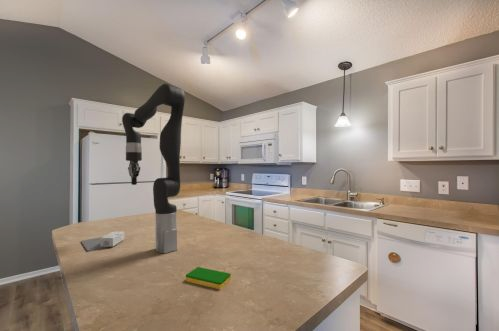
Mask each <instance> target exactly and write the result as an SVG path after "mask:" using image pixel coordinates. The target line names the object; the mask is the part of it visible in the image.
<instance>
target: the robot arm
mask: <svg viewBox="0 0 499 331" xmlns="http://www.w3.org/2000/svg"><path fill="white" fill-rule="evenodd" d="M185 100H186V94H185V91H184V90H183V89H182V88H180V87H178V86H175V85H172V84H169V83H162V84H161V85H160V86H159V87H158V88H157V89H156V90H155V91H154V92H153V93H152V95H151V96H150V97H149V98H148V100H146V102H145V103H143V104H142V105H141V106H139V107H138V108H137V109H135V111H134V113H131V112H125V113H124V114H123V115H122V117H121V121H122V122H121V123H122V126H123V129H124V131H125V132H124V133H125V139H126V140H125V161H127V162H129V164H128V167H127V170H128V174H129V176H130V178H131V179H130V182H131V183H130V184H131V185H133V186H135V185H137V184H138V179H137V178H138V177H139V176H140V172H141V166H140V163H139V162H140V161H142V158H143V157H142V154H143V151H142V149H143V148H142V136H141V133H140V132H139V131H136V130H135V129H134V128H136V129H140V128H143V127H144V126H145V124H146V123H147V121H148V120H150V119H152V118H153V117H154V116H155V115H156V113H157V110H158V107H159V106H161V105H162V106H163V105H165V106H168V107H171V108H170V110H171V111H170V116H169V119H168V121H167V122H166V124H165V125H164V126H163V128H162V129H161V131H160V134H159V151H160V154H161V156H162V158H163V160H164V161H165V164H166V166H167V177H158V178H156V179H155V180H154V182H153V185H152V195H153V206H154V211H155V215H154V216H155V252H157V253H159V254H167V253H171V252H174V251H177V250H178V226H177V224H178V223H177V222H178V221H177V216H178V215H177V213H178V212H177V207H178V206H177V205H176V204H172V203H170V202H169V199H168V198H171V197H176V196H178V195H179V194H180V191H181V169H180V168H181V166H180V160H181V158H180V157H181V145H182V144H181V143H182V142H181V141H182V125H183V123H182V122H183V116H184V115H183V114H184V110H185V109H184V108H185V102H186V101H185Z"/></svg>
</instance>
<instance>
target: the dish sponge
mask: <svg viewBox="0 0 499 331" xmlns="http://www.w3.org/2000/svg"><path fill="white" fill-rule="evenodd" d="M231 280H232V274H231V273H229V272H225V271H221V270H220V271H219V270H215V269H210V268H205V267H200V266H197V267H196V268H194V269H192V270H190V271H189V272H188V273H186V274H185V282H188V283H192V284H195V285H196V284H197V285H200V286H205V287H209V288H213V289H218V290H222V289H223V288H224V287H225V286H226V285H227V284H228V283H229V282H230V281H231Z"/></svg>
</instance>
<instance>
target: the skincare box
mask: <svg viewBox="0 0 499 331" xmlns="http://www.w3.org/2000/svg"><path fill="white" fill-rule="evenodd" d="M101 237H102V238H100V247H107V248H111V247H110V246H112V247H115V246H114V245H116V244H117V245H118V244H119V243H121V242H122V241H124V240H125V231H117V230H115V231H113V230H112V232H109V233H108V234H105V235H104V236H101Z"/></svg>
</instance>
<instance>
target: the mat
mask: <svg viewBox="0 0 499 331" xmlns="http://www.w3.org/2000/svg"><path fill="white" fill-rule="evenodd" d="M102 237H103V236H99V237H95V238H94V237H93V238H90V239H84V240H81V241H80V242H81V244H82V245H83V247H84V248H85V250H86V251H87V252H92V251H97V250H101V249H107V248H108V247H100V238H102ZM115 246H118V243H117V244H116V245H114V246H110V247H109V248H111V247H115Z"/></svg>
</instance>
